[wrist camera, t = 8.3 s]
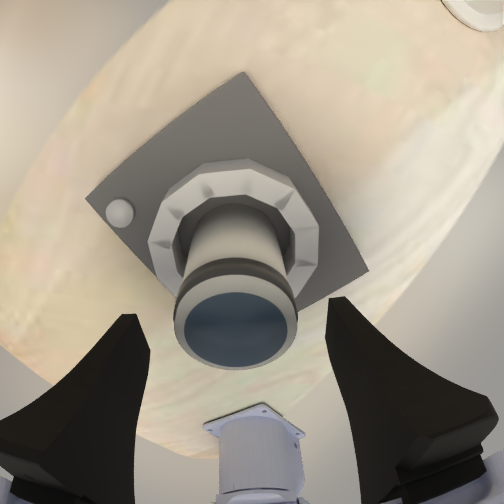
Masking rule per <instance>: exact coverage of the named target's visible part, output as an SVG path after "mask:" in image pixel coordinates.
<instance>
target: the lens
mask: <svg viewBox="0 0 504 504" xmlns="http://www.w3.org/2000/svg"><path fill="white" fill-rule="evenodd" d="M173 320H174V330H175V335H176V338H177V340H178V342H179V344H180V345H181V347H182V348H183V349H184V350H185V351H186V352H187V353H188V354H189V355H190V356H191V357H193V358H194V359H196V360H197V361H199V362H201V363H203V364H206V365H208V366H211V367H215V368H219V369H225V370H246V369H252V368H256V367H260V366H263V365H265V364H268V363H270V362H272V361H274V360H275V359H277V358H279V357H280V356H281V355H282V354H284V353H285V352H286V351H287V350H288V348H289V347H290V346H291V344H292V343H293V341H294V339H295V336H296V332H297V321H298V313H297V308H296V304H295V299H294V295H293V292H292V289H291V286H290V285H289V283H288V280H287V276H286V271H285V267H284V263H283V259H282V255H281V250H280V246H279V242H278V238H277V234H276V230H275V228H274V226H273V224H272V222H271V221H270V220H269V218H268V217H267V216H266V215H265V214H263V213H262V212H261V211H259V210H257V209H255V208H253V207H250V206H247V205H242V204H227V205H223V206H219V207H217V208H215V209H213V210H211V211H209V212H208V213H206V214H205V215H204V216H203V217H202V218H201V219H200V221H199V222H198V224H197V225H196V227H195V230H194V233H193V237H192V241H191V246H190V250H189V255H188V259H187V264H186V268H185V273H184V278H183V282H182V284H181V286H180V288H179V291H178V295H177V299H176V304H175V309H174V316H173Z"/></svg>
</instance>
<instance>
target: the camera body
mask: <svg viewBox="0 0 504 504" xmlns="http://www.w3.org/2000/svg"><path fill="white" fill-rule="evenodd" d="M85 199H86V200H87V202H88V203H89V204H90V205H91V206H92V207H93V209H94V210H95V211H96V212H97V213H98V214H99V215H100V216H101V218H102V219H103V220H104V221H105V222H106V223H107V224H108V225H109V227H110V228H111V229H112V230H113V231H114V232H115V233H116V234H117V235H118V237H119V238H120V239H121V240H122V241H123V242H124V243H125V244H126V245H127V246H128V247H129V248H130V250H131V251H132V252H133V253H134V254H135V255H136V256H137V257H138V258H139V259H140V260H141V261H142V262H143V263H144V264H145V265H146V266H147V267H148V268H149V269H150V271H151V272H152V273H153V274H154V275H155V276H156V277H157V279H158V280H159V281H160V282H161V283H162V284H163V285H164V286H165V287H166V288H167V289H168V290H169V291H170V292H171V293H172V294H173V295H174V296H175V297H176V298H177V295H178V291H179V288H180V286H181V284H182V282H183V278H184V273H185V268H186V264H187V259H188V255H189V250H190V246H191V241H192V237H193V233H194V230H195V227H196V225H197V224H198V222H199V221H200V219H201V218H202V217H203V216H204V215H205V214H206V213H208V212H209V211H211V210H213V209H215V208H217V207H219V206H223V205H227V204H242V205H247V206H250V207H253V208H255V209H257V210H259V211H261V212H262V213H263V214H265V215H266V216H267V217H268V218H269V220H270V221H271V222H272V224H273V226H274V228H275V230H276V234H277V238H278V242H279V246H280V250H281V255H282V259H283V263H284V267H285V271H286V276H287V280H288V283H289V285H290V286H291V289H292V292H293V295H294V299H295V304H296V308H297V312H299V311H300V310H302V309H304V308H306V307H308V306H310V305H311V304H313V303H315V302H317V301H318V300H320V299H322V298H324V297H326V296H327V295H329V294H331V293H333V292H334V291H336V290H338V289H340V288H341V287H343V286H345V285H346V284H348V283H350V282H352V281H353V280H355V279H357V278H358V277H360V276H362V275H363V274H365V273H367V272H368V271H369V270H368V268H367V266H366V264H365V262H364V260H363V258H362V257H361V255H360V253H359V251H358V249H357V247H356V245H355V244H354V242H353V240H352V238H351V236H350V235H349V233H348V231H347V229H346V228H345V226H344V224H343V222H342V221H341V219H340V217H339V215H338V214H337V212H336V210H335V209H334V207H333V205H332V203H331V202H330V200H329V198H328V197H327V195H326V193H325V192H324V190H323V188H322V187H321V185H320V183H319V182H318V180H317V179H316V177H315V175H314V174H313V172H312V171H311V169H310V167H309V166H308V164H307V163H306V161H305V159H304V158H303V156H302V155H301V153H300V152H299V150H298V149H297V147H296V145H295V144H294V142H293V141H292V139H291V138H290V136H289V135H288V133H287V132H286V130H285V129H284V127H283V126H282V124H281V123H280V121H279V120H278V119H277V117H276V116H275V114H274V113H273V111H272V110H271V108H270V107H269V106H268V104H267V103H266V101H265V100H264V98H263V97H262V96H261V94H260V93H259V91H258V90H257V89H256V87H255V86H254V84H253V83H252V82H251V80H250V79H249V78H248V76H247V75H246V74H245V72H242V73H240V74H239V75H237V76H236V77H234V78H233V79H231V80H230V81H228V82H227V83H225V84H224V85H222V86H221V87H219V88H218V89H216V90H215V91H214V92H212V93H211V94H209V95H208V96H206V97H205V98H204V99H202V100H201V101H199V102H198V103H197V104H195V105H194V106H193V107H191V108H190V109H189V110H187V111H186V112H185V113H183V114H182V115H181V116H179V117H178V118H177V119H175V120H174V121H173V122H171V123H170V124H169V125H168V126H166V127H165V128H164V129H163V130H161V131H160V132H159V133H158V134H156V135H155V136H154V137H153V138H151V139H150V140H149V141H148V142H147V143H145V144H144V145H143V146H142V147H141V148H139V149H138V150H137V151H136V152H135V153H134V154H132V155H131V156H130V157H129V158H128V159H127V160H126V161H124V162H123V163H122V164H121V165H120V166H119V167H118V168H117V169H115V170H114V171H113V172H112V173H111V174H110V175H109V176H108V177H107V178H106V179H105V180H104V181H102V182H101V183H100V184H99V185H98V186H97V187H96V188H95V189H94V190H93V191H92V192H91V193H90V194H89V195H88V196H87V197H86V198H85Z"/></svg>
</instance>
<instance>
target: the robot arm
mask: <svg viewBox="0 0 504 504" xmlns="http://www.w3.org/2000/svg"><path fill="white" fill-rule="evenodd" d="M325 340H326V344H327V349H328V354H329V358H330V362H331V365H332V368H333V371H334V374H335V377H336V380H337V383H338V386H339V388H340V392H341V394H342V397H343V400H344V403H345V406H346V410H347V413H348V417H349V421H350V426H351V431H352V436H353V441H354V447H355V453H356V460H357V467H358V474H359V482H360V492H361V503H362V504H504V448H503V449H502V450H500V451H498V452H496V453H494V454H492V455H491V456H489V457H487V458H486V459H484V460H482V458H481V455H480V454H482V453H483V448H482V446H481V442H482V441H483V440H484V439H485V438H486V437H487V436H488V435H489V434H490V432H491V431H492V430H493V429H494V428H495V426H496V425H497V422H498V420H499V418H498V415H497V413H496V411H495V409H494V407H493V405H492V404H491V402H490V400H489V399H488V397H487V396H484V395H482V394H479V393H476V392H473V391H471V390H468V389H466V388H463V387H461V386H459V385H457V384H455V383H452V382H451V381H448V380H447V379H444V378H443V377H441V376H439V375H437V374H436V373H434V372H432V371H431V370H429V369H427V368H426V367H424V366H422V365H421V364H419V363H418V362H416V361H415V360H414V359H412V358H411V357H409V356H408V355H407V354H405V353H404V352H403V351H401V350H400V349H399V348H398V347H396V346H395V345H394V344H393V343H391V342H390V341H389V340H388V339H387V338H386V337H385V336H384V335H383V334H382V333H381V332H379V331H378V330H377V329H376V328H375V327H374V326H373V325H372V324H371V323H370V322H369V321H368V320H367V319H366V318H365V317H364V316H363V315H362V314H361V313H360V312H359V311H358V310H357V309H356V308H355V306H354V305H353V304H352V303H351V302H350V301H349V300H348V299H347V298H346V297H345V296H344V297H336V298H329V302H328V313H327V324H326V334H325ZM149 361H150V348H149V346H148V343H147V341H146V338H145V336H144V333H143V331H142V328H141V325H140V323H139V320H138V317H137V315H136V314H122V315H121V316H120V317H119V318H118V319H117V320H116V321H115V322H114V324H113V325H112V326H111V327H110V328H109V329H108V331H107V332H106V333H105V334H104V335H103V336H102V338H101V339H100V340H99V341H98V342H97V343H96V344H95V346H94V347H93V348H92V349H91V350H90V351H89V352H88V353H87V354H86V355H85V357H84V358H83V359H82V360H81V361H80V362H79V363H78V364H77V365H76V366H75V367H74V368H73V369H72V370H71V371H70V372H69V373H68V374H67V375H66V376H65V377H64V378H62V379H61V380H60V381H59V382H58V383H57V384H56V385H54V386H53V387H52V388H51V389H49V390H48V391H47V392H46V393H44V394H43V395H42V396H40V397H39V398H38V399H36V400H35V401H33V402H32V403H30V404H29V405H27V406H26V407H24V408H22V409H21V410H19V411H17V412H16V413H14V414H12V415H10V416H8V417H6V418H4V419H2V420H0V466H1V467H2V468H4V469H5V470H6V471H8V472H9V473H10V474H11V475H13V476H14V478H13V481H12V482H11V481H10V480H8V479H6V478H4V477H1V476H0V504H135V496H134V449H135V436H136V427H137V421H138V416H139V412H140V407H141V403H142V398H143V394H144V390H145V385H146V381H147V377H148V371H149ZM203 429H204V430H206V431H207V432H209V433H211V434H213V435H214V436H216V437H218V438H220V441H219V495H216V502H211V503H209V504H310V503H309V502H308V501H307V500H305V499H304V498H303V497H298V496H299V495H300V493H301V491H302V489H303V487H304V481H305V478H304V471H303V464H302V457H301V451H300V444H299V439H301V438H303V437H305V433H304V432H303V431H301V430H300V429H299V428H297V427H296V426H294V425H293V424H291V423H290V422H289V421H287V420H286V419H284V418H283V417H281V416H280V415H279V414H277V413H276V412H275V411H273V410H272V409H270V408H269V407H268V406H266V405H265V404H259V405H256V406H254V407H251V408H248V409H246V410H243V411H241V412H238V413H235V414H232V415H230V416H227V417H224V418H221V419H218V420H215V421H212V422H209V423H206V424H204V425H203Z"/></svg>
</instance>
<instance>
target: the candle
mask: <svg viewBox="0 0 504 504" xmlns="http://www.w3.org/2000/svg"><path fill="white" fill-rule="evenodd" d="M442 2H443V3H444V5H445V6H446V7H447V8H448V10H449V11H450V12H451V13H452V14H453V15H454V16H455V17H456V18H457V19H458V20H460V21H461V22H462V23H464V24H465V25H467V26H468V27H470V28H472V29H475V30H478V31H484V32H488V31H495V30H498V29H499V28H501V27H502V26H503V25H504V0H442Z"/></svg>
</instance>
